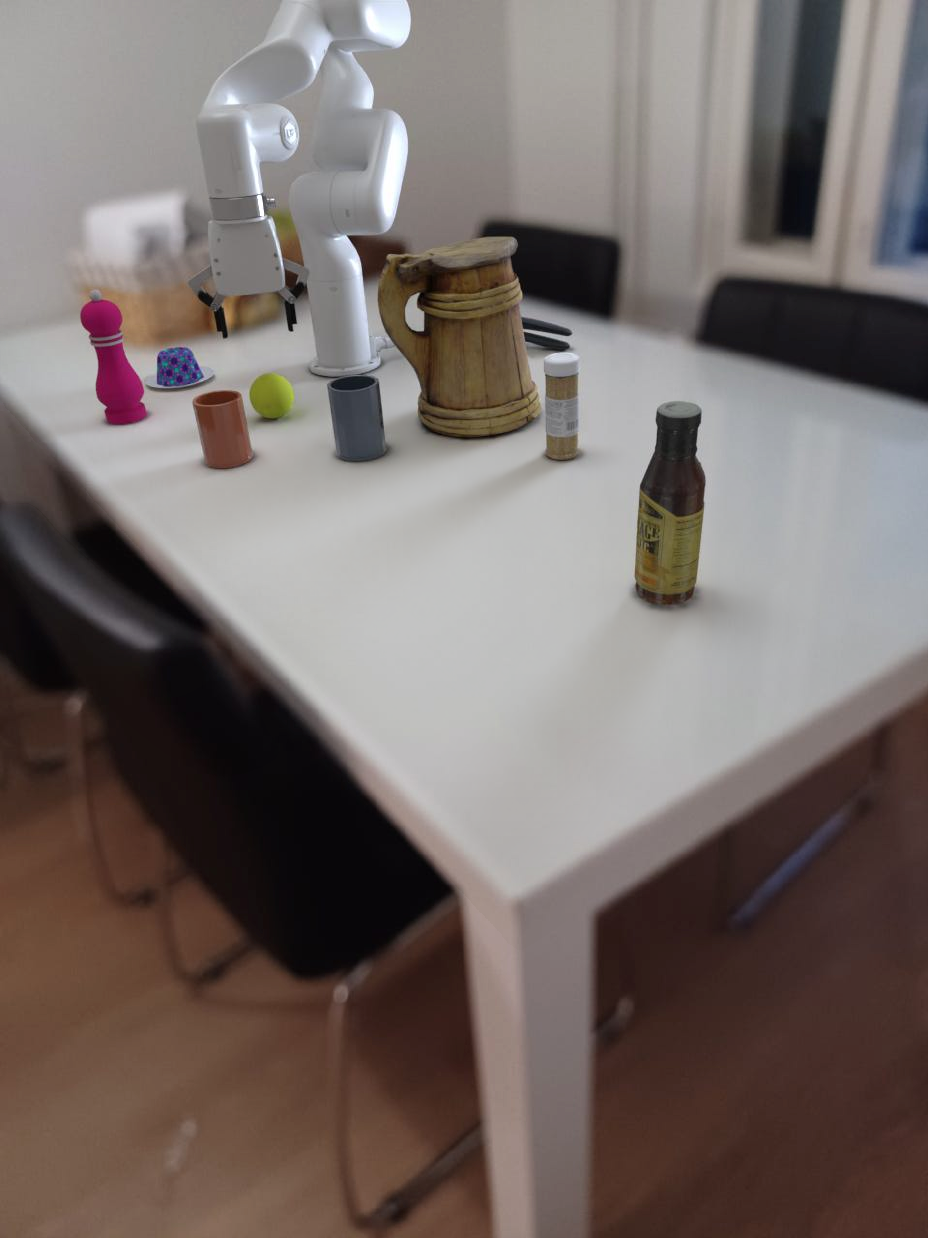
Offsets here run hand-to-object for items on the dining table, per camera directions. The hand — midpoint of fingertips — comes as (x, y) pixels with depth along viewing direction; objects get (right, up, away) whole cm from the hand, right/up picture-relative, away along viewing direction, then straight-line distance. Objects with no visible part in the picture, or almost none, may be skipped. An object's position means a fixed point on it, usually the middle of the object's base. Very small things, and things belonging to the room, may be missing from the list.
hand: (258, 332), depth 142 cm
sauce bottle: (+51, -40, -45) cm, 79 cm away
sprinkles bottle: (+44, -20, -12) cm, 50 cm away
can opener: (+42, +7, +32) cm, 53 cm away
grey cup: (+16, -19, -7) cm, 26 cm away
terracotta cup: (-3, -20, -7) cm, 21 cm away
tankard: (+31, -13, +1) cm, 33 cm away
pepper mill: (-23, -11, +11) cm, 28 cm away
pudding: (-19, -1, +26) cm, 32 cm away
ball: (+1, -8, +5) cm, 10 cm away
